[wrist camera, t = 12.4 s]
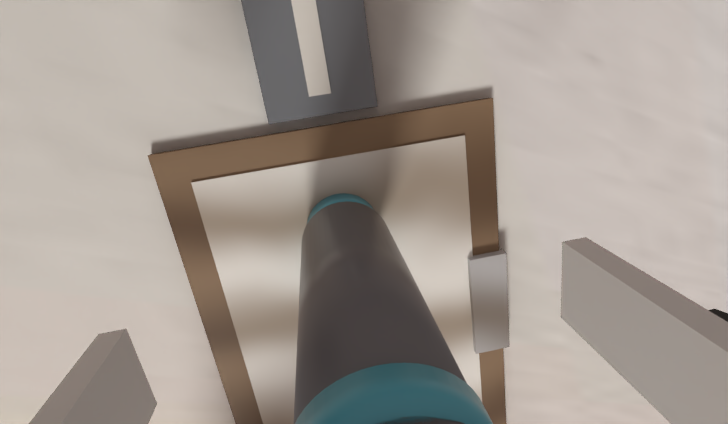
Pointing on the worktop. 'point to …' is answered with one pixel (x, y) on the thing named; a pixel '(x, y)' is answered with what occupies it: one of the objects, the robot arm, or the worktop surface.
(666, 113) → the worktop surface
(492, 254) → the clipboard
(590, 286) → the robot arm
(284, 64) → the grey slotted plate
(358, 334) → the grey and teal cylinder
